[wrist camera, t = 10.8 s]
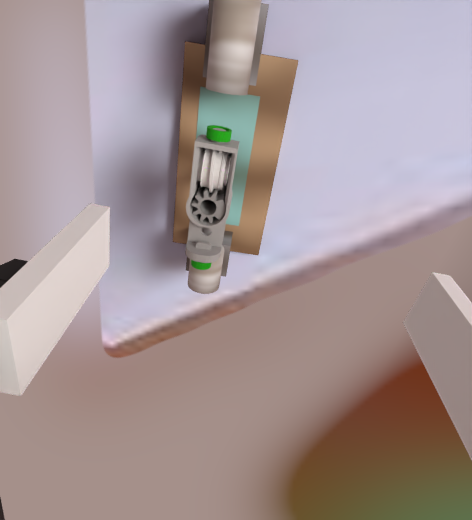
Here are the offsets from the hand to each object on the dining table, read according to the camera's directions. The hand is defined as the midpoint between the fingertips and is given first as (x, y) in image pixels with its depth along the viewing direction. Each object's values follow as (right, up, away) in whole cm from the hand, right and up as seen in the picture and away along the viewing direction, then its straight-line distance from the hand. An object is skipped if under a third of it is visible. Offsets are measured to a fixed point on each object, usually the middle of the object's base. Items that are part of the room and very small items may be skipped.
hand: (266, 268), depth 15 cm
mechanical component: (-3, +9, +18) cm, 21 cm away
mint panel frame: (-2, +10, +19) cm, 21 cm away
